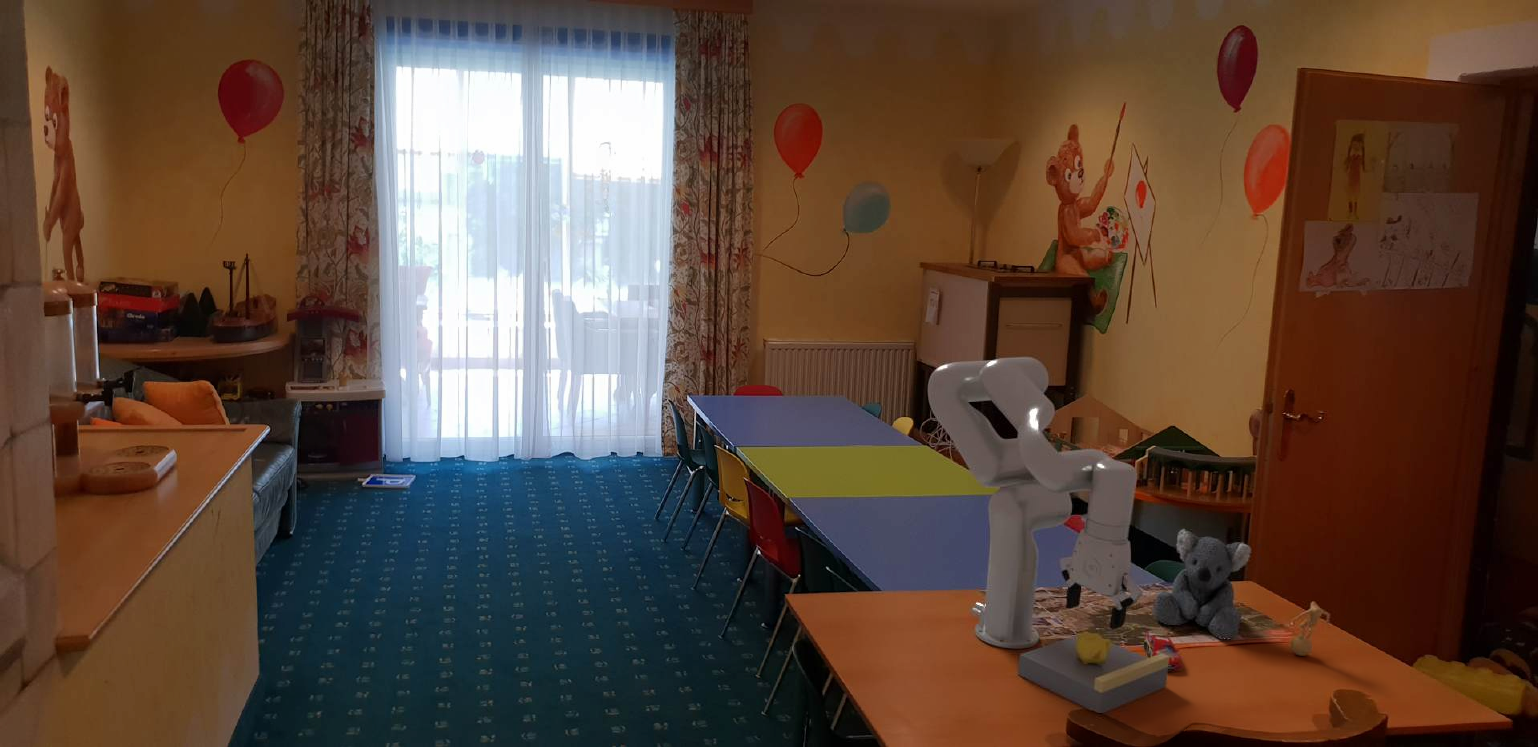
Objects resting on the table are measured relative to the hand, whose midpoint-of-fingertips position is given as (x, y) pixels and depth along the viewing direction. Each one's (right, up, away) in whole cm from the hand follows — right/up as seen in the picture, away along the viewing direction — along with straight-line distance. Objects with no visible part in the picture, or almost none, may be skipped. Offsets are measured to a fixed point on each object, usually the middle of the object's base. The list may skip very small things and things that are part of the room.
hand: (1093, 616), depth 200 cm
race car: (+17, -12, +13) cm, 24 cm away
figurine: (+47, -12, +17) cm, 51 cm away
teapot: (0, -8, 0) cm, 8 cm away
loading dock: (0, -12, +1) cm, 12 cm away
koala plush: (+33, -9, +34) cm, 48 cm away
